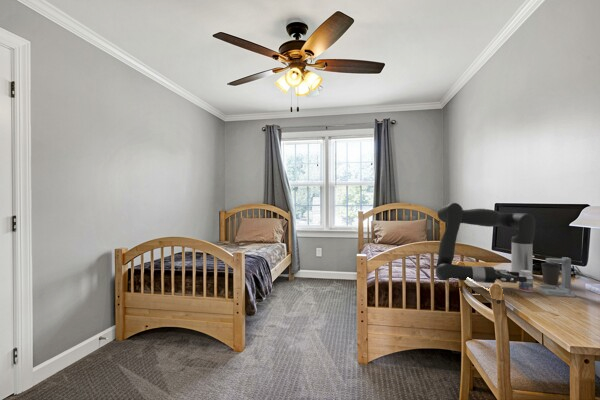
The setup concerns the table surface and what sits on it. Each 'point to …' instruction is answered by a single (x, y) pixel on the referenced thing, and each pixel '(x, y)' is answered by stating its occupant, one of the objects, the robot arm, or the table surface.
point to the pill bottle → (526, 285)
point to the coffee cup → (550, 273)
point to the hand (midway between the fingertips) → (522, 276)
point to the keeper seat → (566, 279)
